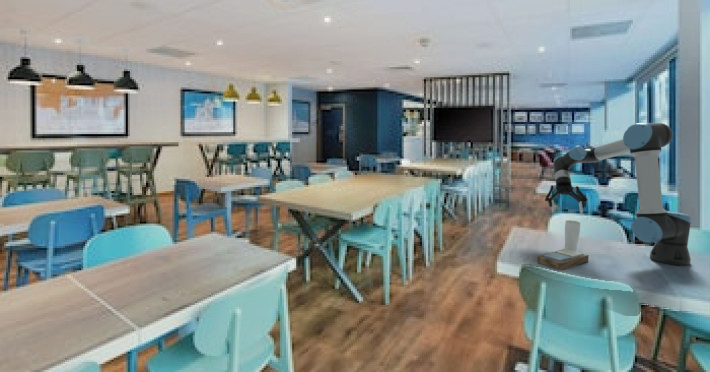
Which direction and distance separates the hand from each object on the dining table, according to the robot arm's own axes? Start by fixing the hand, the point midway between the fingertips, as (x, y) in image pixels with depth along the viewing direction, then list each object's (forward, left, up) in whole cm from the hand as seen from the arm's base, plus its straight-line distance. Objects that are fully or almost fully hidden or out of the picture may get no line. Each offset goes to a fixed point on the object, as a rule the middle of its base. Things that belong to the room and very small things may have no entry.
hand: (567, 212), depth 213 cm
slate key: (-15, +32, -17) cm, 39 cm away
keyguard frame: (-15, +27, -18) cm, 36 cm away
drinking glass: (-7, +7, -18) cm, 21 cm away
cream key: (-15, +22, -17) cm, 32 cm away
